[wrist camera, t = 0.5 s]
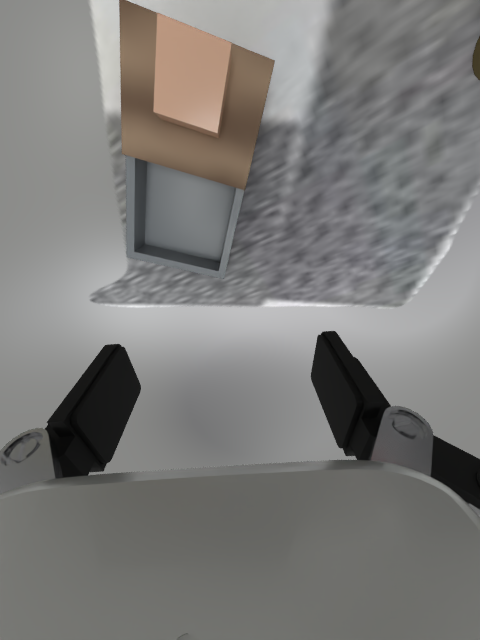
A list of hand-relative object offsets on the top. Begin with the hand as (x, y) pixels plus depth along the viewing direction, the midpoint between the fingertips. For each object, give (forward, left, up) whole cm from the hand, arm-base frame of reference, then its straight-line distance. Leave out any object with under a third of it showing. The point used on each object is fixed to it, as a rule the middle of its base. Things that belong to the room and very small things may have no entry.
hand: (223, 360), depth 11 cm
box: (-1, -7, -29) cm, 29 cm away
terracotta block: (-14, -7, -23) cm, 27 cm away
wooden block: (-12, -7, -29) cm, 32 cm away
